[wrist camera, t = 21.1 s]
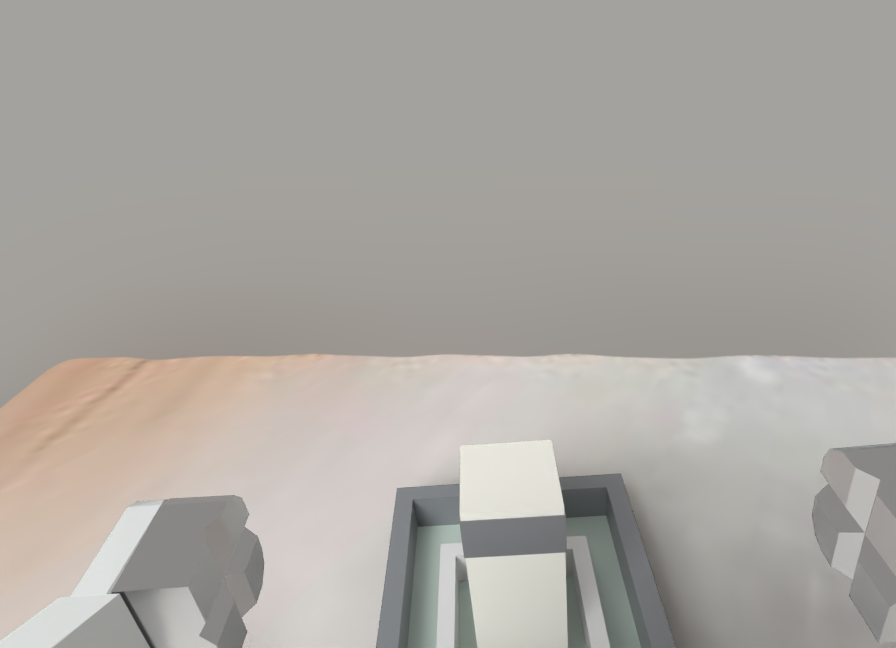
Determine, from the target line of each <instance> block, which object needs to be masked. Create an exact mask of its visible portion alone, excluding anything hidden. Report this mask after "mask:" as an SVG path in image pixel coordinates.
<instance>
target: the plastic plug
mask: <svg viewBox="0 0 896 648" xmlns="http://www.w3.org/2000/svg"><path fill="white" fill-rule="evenodd" d="M459 524H460V531H461V539H462V546H463V553H464V558H466V565H467V573H468V580H469V588H470V595H471V603H472V610H473V618H474V625H475V632H476V640H477V647H478V648H568V635H567V595H566V555H565V552H567V537H566V513H565V508H564V503H563V497H562V492H561V487H560V482H559V477H558V471H557V466H556V461H555V456H554V450H553V445H552V440H539V441H524V442H510V443H496V444H481V445H467V446H460V494H459Z"/></svg>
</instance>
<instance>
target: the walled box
mask: <svg viewBox="0 0 896 648" xmlns="http://www.w3.org/2000/svg"><path fill="white" fill-rule="evenodd" d="M559 482H560V487H561V492H562V497H563V503H564V508H565V513H566V537H567V552H565V555H566V595H567V635H568V648H676V646H675V643H674V639H673V636H672V633H671V630H670V627H669V624H668V621H667V617H666V614H665V611H664V608H663V605H662V602H661V599H660V595H659V592H658V589H657V586H656V583H655V580H654V577H653V573H652V570H651V567H650V564H649V561H648V558H647V554H646V551H645V548H644V545H643V542H642V539H641V536H640V532H639V529H638V526H637V523H636V520H635V517H634V514H633V510H632V507H631V504H630V501H629V498H628V495H627V492H626V488H625V485H624V482H623V479H622V476H621V474H606V475H591V476H576V477H560V478H559ZM459 494H460V484H452V485H437V486H421V487H406V488H397V493H396V501H395V508H394V516H393V523H392V531H391V538H390V546H389V553H388V561H387V568H386V576H385V584H384V591H383V599H382V606H381V614H380V621H379V629H378V636H377V644H376V648H478V647H477V640H476V632H475V625H474V618H473V610H472V603H471V595H470V588H469V580H468V573H467V565H466V558H464V553H463V546H462V539H461V531H460V524H459Z"/></svg>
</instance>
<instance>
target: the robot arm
mask: <svg viewBox="0 0 896 648" xmlns="http://www.w3.org/2000/svg"><path fill="white" fill-rule="evenodd" d="M820 472H821V473H822V475H823V476H824V477H825V479H826V480H827V482H828V483H829V484H828V485H827V486H826V487H825V488H823V489H822V490H821V491H820V492H819V493H818V494H817V495H816V496H815V500H814V506H813V512H812V518H813V524H814V530H815V536H816V538H817V541H818V543H819V546H820V548H821V551H822V552H823V554H824V556H825V557H826V559H827V561H828V562H829V564H830V566H831V567H832V568H834V569H836V570H837V571H839V572H840V573H842V574H843V575H845V576H846V577H848V578H850V579H851V580H852V585H851V589H850V594H849V596H850V598H851V600H852V601H853V603H854V604H855V606H856V607H857V609H858V611H859V612H860V614H861V615H862V617H863V619H864V620H865V622H866V623H867V625H868V626H869V628H870V630H871V631H872V633H873V634H874V636H875V638H876V639H877V641H878V642H879V643H885V642H896V443H892V444H880V445H868V446H857V447H845V448H833V449H830V450H829V451H828V452H827V453H826V455H825V456H824V458H823V462H822V466H821V471H820ZM248 516H249V513H248V510H247V508H246V506H245V503H244V501H243V499H242V498H241V497H238V496H235V495H229V496H210V497H191V498H172V499H169V500H148V501H137V502H135V503H134V504H132V505H130V506H129V507H127V509H126V510H125V512H124V513H123V515H122V516H121V518H120V520H119V521H118V523H117V524H116V526H115V527H114V529H113V530H112V532H111V534H110V535H109V537H108V538H107V540H106V541H105V543H104V544H103V546H102V548H101V549H100V551H99V552H98V554H97V555H96V557H95V558H94V560H93V562H92V563H91V565H90V566H89V568H88V569H87V571H86V572H85V574H84V576H83V577H82V579H81V580H80V582H79V583H78V585H77V586H76V588H75V590H74V591H73V593H72V594H71V596H70V597H59V598H58V599H56V600H55V601H54V602H52V603H51V604H50V605H48V606H47V607H45V608H44V609H43V610H41V611H40V612H39V613H37V614H36V615H35V616H33V617H32V618H30V619H29V620H28V621H26V622H25V623H24V624H22V625H21V626H20V627H18V628H17V629H16V630H14V631H13V632H11V633H10V634H9V635H7V636H6V637H5V638H3V639H2V640H1V641H0V648H242V645H243V643H244V640H245V637H246V634H247V630H246V627H245V625H244V623H243V620H242V617H243V616H244V615H245V614H246V613H247V612H248V611H249V610H250V609H251V608H252V607H253V606H254V605H255V604H256V603H257V600H258V597H259V594H260V591H261V587H262V583H263V572H264V559H263V552H262V547H261V544H260V541H259V539H258V536H257V535H255V534H254V533H252V532H251V531H250V530H248V529H247V528H245V527H244V526H245V524H246V521H247V519H248Z"/></svg>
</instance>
